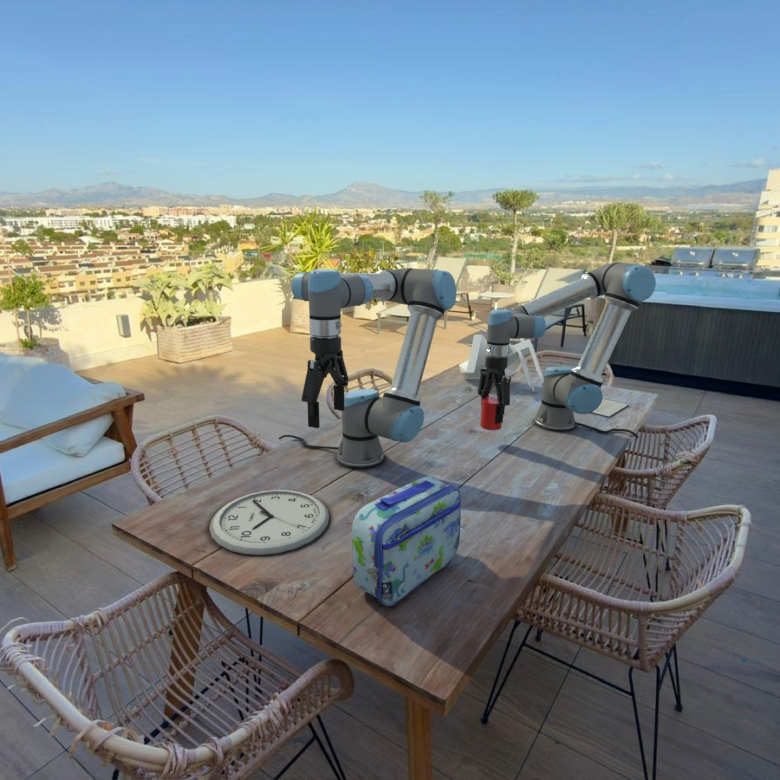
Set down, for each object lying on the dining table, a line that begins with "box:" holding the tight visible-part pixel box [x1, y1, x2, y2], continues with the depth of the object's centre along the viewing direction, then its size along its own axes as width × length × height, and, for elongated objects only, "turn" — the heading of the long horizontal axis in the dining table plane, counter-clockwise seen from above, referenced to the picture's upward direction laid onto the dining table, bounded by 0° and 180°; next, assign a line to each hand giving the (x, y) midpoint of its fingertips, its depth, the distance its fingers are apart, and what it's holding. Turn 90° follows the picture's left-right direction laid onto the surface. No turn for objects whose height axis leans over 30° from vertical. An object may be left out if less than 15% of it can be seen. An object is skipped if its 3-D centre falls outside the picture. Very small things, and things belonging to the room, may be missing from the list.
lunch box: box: [351, 476, 462, 607], centre depth 111 cm, size 26×11×21 cm, turn 135°
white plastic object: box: [458, 307, 544, 393], centre depth 256 cm, size 37×45×31 cm
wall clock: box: [209, 489, 330, 556], centre depth 135 cm, size 30×2×30 cm
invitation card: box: [591, 398, 629, 418], centre depth 226 cm, size 21×1×15 cm
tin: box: [479, 396, 503, 431], centre depth 183 cm, size 7×7×10 cm
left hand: (327, 418), depth 132 cm, fingers open, 13 cm apart
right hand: (491, 419), depth 184 cm, fingers closed on tin, 7 cm apart
